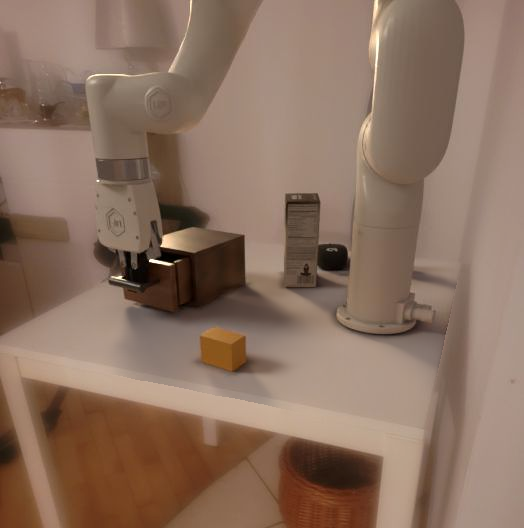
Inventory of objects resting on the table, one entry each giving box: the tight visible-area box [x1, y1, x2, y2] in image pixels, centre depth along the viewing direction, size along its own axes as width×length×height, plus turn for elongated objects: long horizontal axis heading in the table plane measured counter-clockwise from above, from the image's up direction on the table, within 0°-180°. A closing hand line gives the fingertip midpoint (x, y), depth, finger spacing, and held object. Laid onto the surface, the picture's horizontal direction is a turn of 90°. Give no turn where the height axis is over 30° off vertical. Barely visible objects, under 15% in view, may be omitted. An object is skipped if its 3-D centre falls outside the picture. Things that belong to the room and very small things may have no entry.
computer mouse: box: [317, 242, 349, 271], centre depth 107 cm, size 8×12×4 cm, turn 179°
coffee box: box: [283, 192, 322, 288], centre depth 93 cm, size 9×6×16 cm
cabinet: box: [159, 226, 247, 308], centre depth 90 cm, size 15×13×10 cm
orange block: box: [199, 326, 247, 372], centre depth 65 cm, size 5×3×4 cm, turn 57°
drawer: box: [107, 251, 194, 313], centre depth 84 cm, size 18×11×8 cm, turn 147°
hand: (138, 289), depth 80 cm, fingers closed
